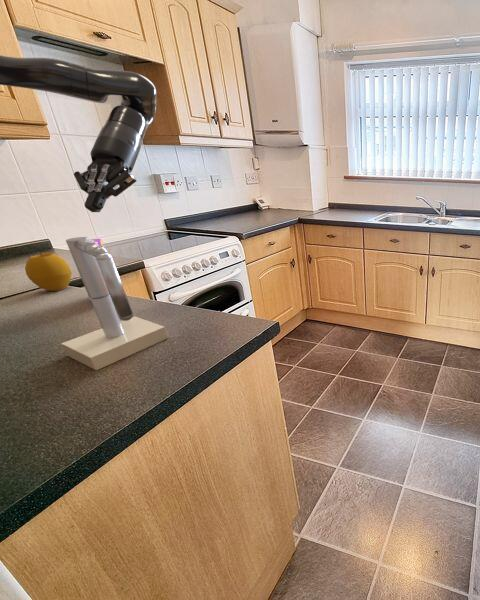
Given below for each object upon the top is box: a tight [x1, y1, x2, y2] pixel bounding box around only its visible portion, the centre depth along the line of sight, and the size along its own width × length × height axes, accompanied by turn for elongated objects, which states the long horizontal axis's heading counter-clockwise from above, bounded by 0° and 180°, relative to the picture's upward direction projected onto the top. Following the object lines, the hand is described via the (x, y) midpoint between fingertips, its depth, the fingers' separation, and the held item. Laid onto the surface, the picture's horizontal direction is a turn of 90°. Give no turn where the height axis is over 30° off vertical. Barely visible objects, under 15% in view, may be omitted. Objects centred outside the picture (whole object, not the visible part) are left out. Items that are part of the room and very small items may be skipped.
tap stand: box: [61, 294, 169, 371], centre depth 71 cm, size 14×12×12 cm
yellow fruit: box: [24, 252, 72, 292], centre depth 103 cm, size 10×10×12 cm
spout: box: [65, 236, 134, 321], centre depth 64 cm, size 15×3×14 cm, turn 56°
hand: (91, 209), depth 72 cm, fingers closed
